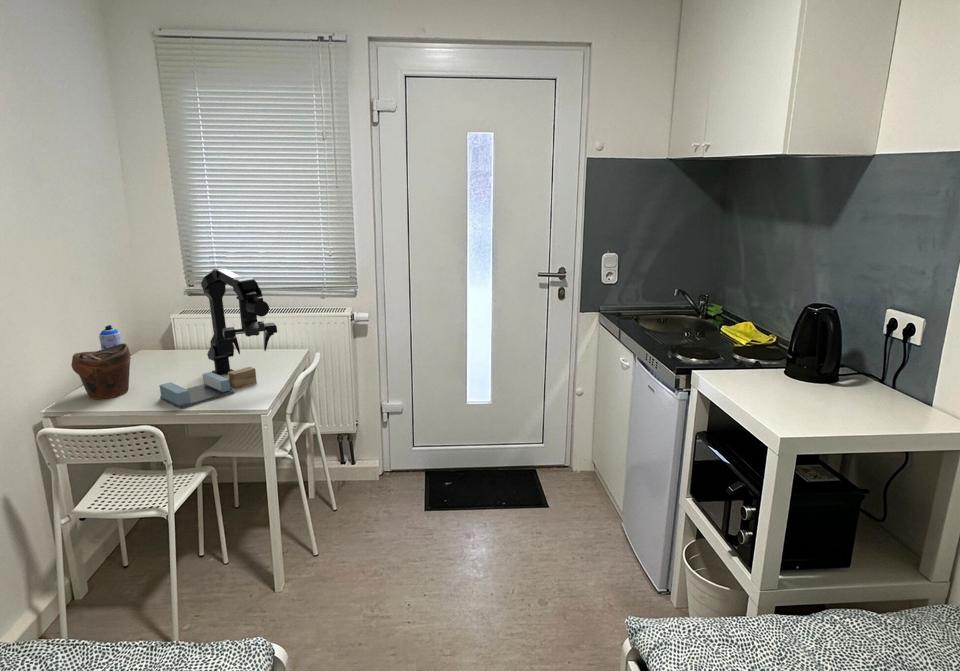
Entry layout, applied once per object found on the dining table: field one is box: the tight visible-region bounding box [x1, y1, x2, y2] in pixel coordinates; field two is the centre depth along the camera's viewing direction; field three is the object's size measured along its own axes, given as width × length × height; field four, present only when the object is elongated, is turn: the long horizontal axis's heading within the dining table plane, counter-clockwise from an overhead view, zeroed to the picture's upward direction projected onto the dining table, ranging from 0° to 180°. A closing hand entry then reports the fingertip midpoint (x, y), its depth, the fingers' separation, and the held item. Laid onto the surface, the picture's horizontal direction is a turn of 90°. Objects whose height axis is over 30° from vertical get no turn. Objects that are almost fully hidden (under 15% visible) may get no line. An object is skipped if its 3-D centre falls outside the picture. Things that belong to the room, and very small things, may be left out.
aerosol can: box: [98, 324, 123, 350], centre depth 255 cm, size 8×8×20 cm
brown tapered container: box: [71, 342, 132, 400], centre depth 231 cm, size 18×20×18 cm
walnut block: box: [227, 366, 257, 390], centre depth 241 cm, size 4×9×6 cm, turn 140°
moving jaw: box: [202, 371, 231, 392], centre depth 235 cm, size 14×3×4 cm, turn 50°
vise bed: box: [159, 383, 235, 410], centre depth 230 cm, size 16×20×1 cm
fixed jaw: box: [158, 381, 190, 406], centre depth 223 cm, size 14×4×4 cm, turn 50°
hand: (252, 352), depth 236 cm, fingers open, 9 cm apart
